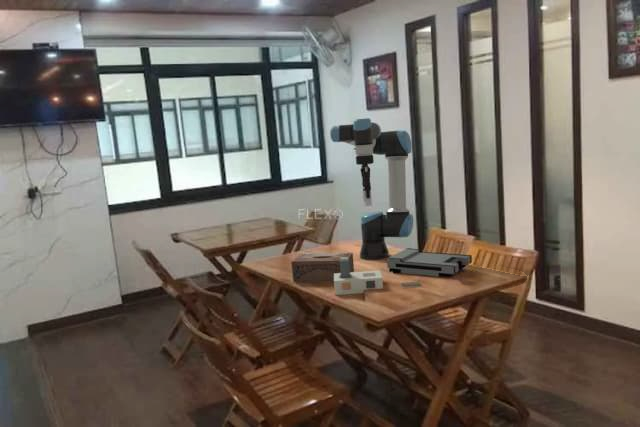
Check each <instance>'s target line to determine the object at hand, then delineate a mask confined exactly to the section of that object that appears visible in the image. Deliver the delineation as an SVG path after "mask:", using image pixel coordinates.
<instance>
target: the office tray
mask: <svg viewBox="0 0 640 427" xmlns="http://www.w3.org/2000/svg"><path fill="white" fill-rule="evenodd" d="M472 257H473V256H472V254H458V253H446V252H443V253H442V252H431V251H430V252H429V251H422V250H421V248H410V247H409V248H408V247H407V248H405V249H403V250H401V251H399V252H397V253H395V254H393V255H390V256H388V257H387V258H386V266H387V269H388V271H389V272H391V273H392V274H410V275H418V276H429V277H440V278H441V277H442V278H451V277H452V276H453V275H455V274H457V273H458V272H460V271H461V270H463V269H464V268H467V267H466V266H469V265H470V264H472V263H473V262H472V261H473V260H472Z"/></svg>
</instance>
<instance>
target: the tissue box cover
mask: <svg viewBox="0 0 640 427" xmlns="http://www.w3.org/2000/svg"><path fill="white" fill-rule="evenodd" d="M341 257H348V259H349V265H350V272H355V266H354V265H355V264H354V253H353V252H337V253H335V252H332V253H330V252H329V253H326V252H325V253H299V255H297V256H296V257H295V258H294V259H293V260H291V273H292V283H309V282H310V283H318V282H319V283H320V282H323V283H325V282H326V283H331V282H332V283H334V274H335V273H340V259H341Z"/></svg>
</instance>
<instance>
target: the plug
mask: <svg viewBox="0 0 640 427" xmlns="http://www.w3.org/2000/svg"><path fill="white" fill-rule="evenodd" d="M340 273H341V278H350V265H349V259H348V257H341V259H340Z"/></svg>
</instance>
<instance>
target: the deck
mask: <svg viewBox="0 0 640 427" xmlns="http://www.w3.org/2000/svg"><path fill="white" fill-rule="evenodd" d="M400 285H401V287H402V289H413V288H423V285H422V283H421V282H420V281H409V282H408V281H407V282H400Z"/></svg>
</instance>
